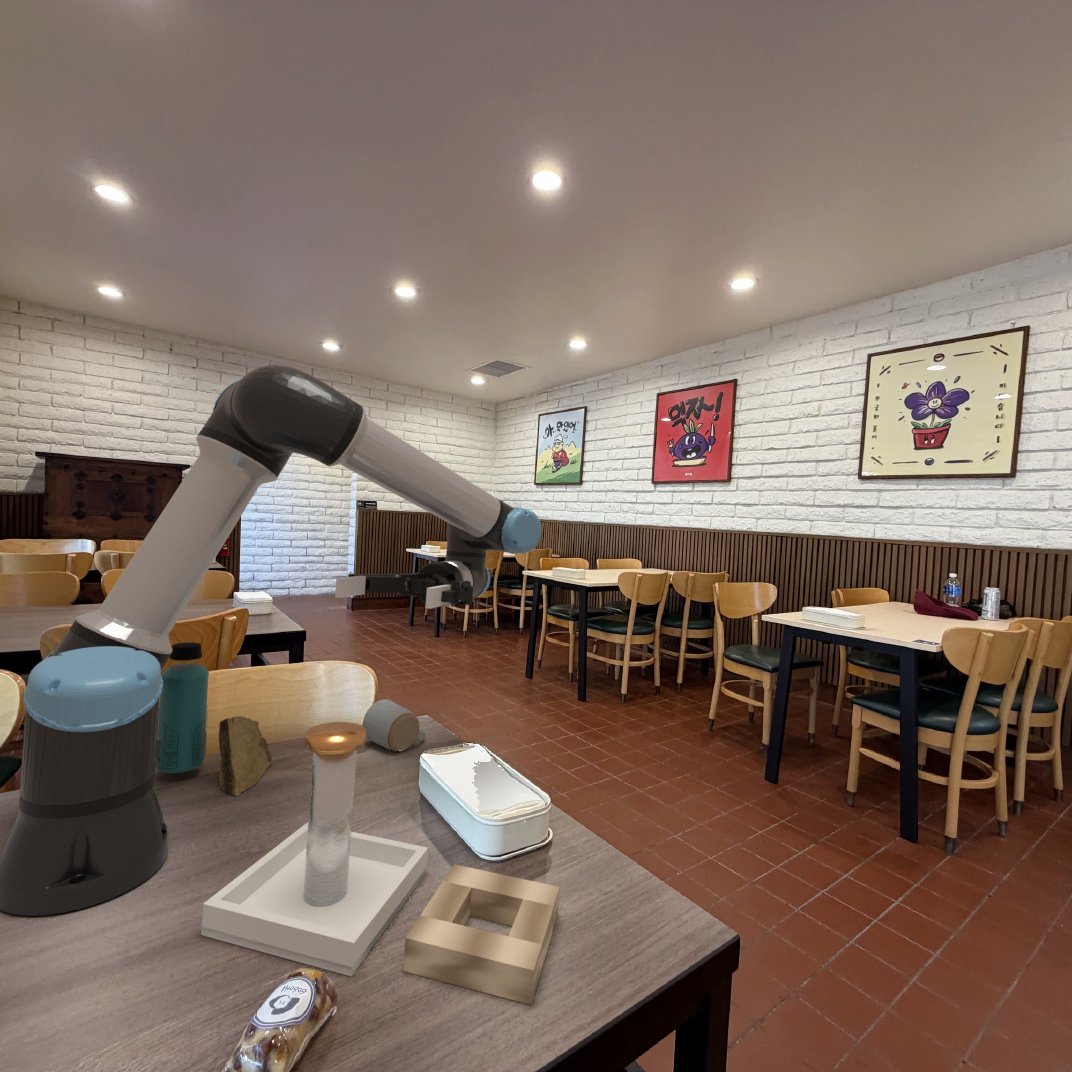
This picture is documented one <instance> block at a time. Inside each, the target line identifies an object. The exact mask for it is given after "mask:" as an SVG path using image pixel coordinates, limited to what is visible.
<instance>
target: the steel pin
mask: <svg viewBox="0 0 1072 1072" xmlns="http://www.w3.org/2000/svg"><path fill="white" fill-rule="evenodd" d="M366 739H367V738H366V729H365V728H364V727H363V725H362V724H358V723H354V722H348V721H347V722H346V721H335V722H334V721H333V722H332V721H331V722H325V723H321V724H317V725H314V726H312V727H310V728H309V729H308V730H306V732H305V742H304V743H305V744H304V746H305V749H307V750H308V751H310V752H311V753H312V761H311V774H310V775H311V779H310V791H309V792H310V793H309V805H308V807H309V808H308V821H307V822H308V833H307V848H306V863H305V878H304V893H303V899H304V901H305V902H306V903H307V904H308V905H311V906H315V907H326V906H330V905H333V904H336V903H338V902H339V901H341V900H342V899H343V898H344V897H345V896H346V894H347V889H348V875H349V860H350V845H351V832H352V828H353V827H352V826H353V812H354V799H355V780H356V769H357V755H358V754H357V753H358V750H359V749H361V748H362V747H364V745H366Z"/></svg>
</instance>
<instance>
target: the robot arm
mask: <svg viewBox="0 0 1072 1072" xmlns="http://www.w3.org/2000/svg"><path fill="white" fill-rule="evenodd" d="M365 409H366V408H365V407H364V406H362V405H361V404H360V403H358V402H356V401H354V400H353V399H351V398H350V397H348V396H347V395H346V394H344V393H341V392H340V391H339V390H337V389H335V388H333V387H332V386H330V385H329V384H327V383H325V381H323V380H321V379H318V378H317V377H315V376H313V375H312V374H309V373H308V372H305V371H303V370H300V369H298V368H295V367H292V366H288V365H283V364H282V365H281V364H269V365H263V366H260V367H257V368H255V369H253V370H251V371H249V372H247V374H245V375H244V376H243V377H241V378H240V379H239V380H237V381H234V382H233V383H231V384H230V385H228V386H227V387H225V388H224V390H222V391H221V392H220V394H219V396H218V397H217V398H216V400H215V402H214V406H213V408H212V413H211V414H210V416H209V418H208V419H207V421H206V422H205V424H204V425H203V427H201V429H200V431H199V432H198V434H197V435H196V437H195V440H196V443H197V445H198V449H199V454H198V455H199V456H197V458H196V459H195V461H194V463H193V464H192V466H191V468H189V470H188V472H187V473H186V475H185V476H184V478H183V479H182V481H181V482H180V484H179V485H178V487H177V489H176V490H175V492H174V493H173V494H172V496H171V498H170V500H169V501H168V503H166V506H165V507H164V509H163V510H162V512H160V513H161V514H160V515H159V516H158V518H157V519H156V521H155V522H154V523H153V526H152V527H151V529H150V531H148V533H147V535H146V536H145V537H144V539H143V540H142V542H141V544H140V545H139V547H138V549H137V550H136V552H135V553H134V554H133V556H132V557H131V560H130V561H129V562H128V564H127V565H126V567H125V569H124V570H123V571H122V573H121V575H120V576H119V578H118V579H117V580H116V582H115V584H113V587H112V588H111V590H110V591H109V593H108V594H107V596H106V597H105V599H104V600H103V602H102V603H101V605H100V606H99V608H97V609H96V610H94V611H90V612H87V613H84V614H80V615H78V616H77V617H76V618H75V620H74V621H73V623H72V624H71V626H70V627H69V628H68V630H67V631H66V633H65V635H64V636H63V638H62V639H61V641H60V642H59V644H58V645H57V647H56V648H55V649H53V650H52V651H51V652H50V653H49V655H47V656H46V657H45V658H43V660H41V661H39V662H38V664H36V665H35V666H34V667H33V669H31V671H30V673H29V675H28V679H27V684H26V686H25V689H24V692H23V705H24V707H25V709H24V726H23V743H22V756H21V757H22V759H21V771H20V772H21V773H20V774H21V775H20V787H19V788H20V790H19V804H18V805H19V806H18V813H17V817H16V820H15V822H14V824H13V826H12V829H11V830H10V833H9V835H8V838H7V839H6V842H5V845H4V847H3V849H2V853H1V855H0V911H2V912H4V913H8V914H10V915H11V914H12V915H18V916H31V917H32V916H33V917H34V916H47V915H48V916H49V915H55V914H57V915H58V914H62V913H67V912H73V911H77V910H80V909H85V908H89V907H91V906H95V905H97V904H100V903H103V902H106V901H109V900H111V899H113V898H116V897H118V896H121V895H122V894H124V893H127V892H129V891H130V890H133V889H134V888H136V887H137V886H139V885H140V884H143V883H144V882H145V881H147V880H148V879H149V878H150V877H152V876H153V875H154V874H155V873H156V872H157V871H159V870H160V868H161V867H162V866H163V865H164V863H165V862H166V859H167V857H168V854H169V838H170V837H169V829H168V826H167V824H166V823H165V819H164V816H163V812H162V809H161V806H160V803H159V800H158V798H157V794H156V792H155V791H156V790H155V774H156V751H157V738H158V735H157V734H158V719H159V706H160V695H161V692H162V689H163V680H162V676H161V674H162V670H163V668H164V666H165V665H166V664H167V661H168V660H169V659H170V655H171V653H172V651H173V650H172V644H171V641H170V636H169V634H170V632H171V631H172V630H173V628H174V626H175V625H176V623H177V621H178V620H179V618H180V616H181V615H182V613H183V612H184V610H185V609H186V607H187V605H188V604H189V602H190V600H191V598H192V597H193V595H194V594H195V592H196V590H197V589H198V587H199V585H200V584H201V582H202V581H203V579H204V577H205V575H206V574H207V572H208V570H210V567H211V566H212V564H213V562H215V559H216V557H217V556H218V554H219V552H220V551H221V550H222V547H223V546H224V545H225V543H226V541H227V540H228V538H229V536H230V535H231V533H232V532H233V530H234V529H235V526H236V525H237V523H238V522H239V520H240V518H241V517H242V515H243V513H244V512H245V510H246V508H247V507H248V505H249V503H250V502H251V500H252V499H253V497H254V496H255V495H256V493H257V490H258V489H259V487H261V486H262V485H264V484H268V483H269V484H270V483H272V482H273V483H274V482H276V481H277V480H278V478H279V476H280V474H281V472H283V469H284V467H285V466H286V464H287V463H288V462H289V459H290V458H291V456H292V455H293V454H297V455H298V454H299V455H302V456H305V457H307V458H311V459H313V460H315V461H317V462H320V463H321V464H323V465H325V466H327V467H328V468H329V467H334V466H338V465H340V466H342V467H344V468H346V469H348V470H350V471H351V472H353V473H355V474H357V475H358V476H361V477H363V478H364V479H366V480H368V481H370V482H372V483H373V484H376V485H378V486H379V487H381V488H383V489H384V490H387V491H389V492H391V493H392V494H394V495H395V496H398V497H400V498H401V499H404V500H405V501H407V502H409V503H411V504H413V505H415V506H416V507H418V508H420V509H422V510H425V512H427V513H430V514H432V515H433V516H434V517H435V516H436V517H437V518H439V519H441V520H443V521H445V522H446V523H447V537H446V538H447V540H446V552H445V560H444V561H434V562H429V563H427V564H425V565H423V566H422V567H421V568H420V569H419V571H418V572H414V573H388V574H381V573H380V574H376V573H374V574H371V573H370V574H368V573H366V574H364V573H361V574H359V573H357V574H355V573H348V574H347V576H346V577H345V576H344V577H336V581H335V592H334V593H335V594H334V598H335V599H336V598H337V599H341V598H349V597H354V598H361V596H362V595H363V596H364V595H365V593H369V594H370V593H378V594H379V593H381V594H382V593H386V594H387V593H388V594H389V593H391V594H394V593H395V594H397V595H399V596H402V597H414V598H419V600H420V601H421V602H422V603H423V604H424V605H425V609H429V610H430V609H435V608H440V607H447V608H449V607H450V608H451V607H452V604H453V605H457V604H460V602H462V604H464V605H465V606H471V605H473V600H474V599H476V598H477V597H480V596H481V595H483V594H484V593H485V592H486V591H487V590H488V588H489V586H490V583H491V574H490V573H491V572H490V571H489V568H488V567H487V565H486V559H487V551H493V552H500V553H501V552H502V553H507V554H511V555H516V554H527V553H530V552H531V551H534V549H536V547H537V546H538V545H539V542H540V540H541V538H542V523H541V520H540V518H539V516H538V515H537V514H536V513H535V512H534V511H531V510H530V509H525V508H523V507H512V506H510V505H509V504H507V503H506V502H504V501H503V500H501V499H499V498H498V497H495V495H494V496H493V495H492V494H491V493H489V492H487V491H485V489H482V488H480V486H477V485H476V484H475V483H473V482H471V481H470V480H468V479H466V478H465V477H463V476H461V475H460V474H458V473H456V472H455V471H454V470H451V469H450V468H448V467H447V466H446V465H444V464H442V463H440V462H439V461H437V460H436V459H434V458H432V457H431V456H429V455H427V454H426V453H424V452H422V451H421V450H420V449H418V448H416V447H415V446H413V445H411V444H410V443H408V442H406V441H405V440H403V439H402V438H400V437H399V436H397V435H396V434H394V433H392V432H390V431H389V430H387V429H385V428H384V427H382V426H380V424H378V423H376V422H375V421H373V420H371V419H369V418H368V417H367V414H366V410H365ZM405 590H406V591H405Z"/></svg>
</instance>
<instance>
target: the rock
mask: <svg viewBox="0 0 1072 1072" xmlns="http://www.w3.org/2000/svg"><path fill="white" fill-rule="evenodd" d="M262 735H263V734H262V732H261V730H260V728H259V721H256V720H253V719H250V718H247V717H245V716H241V715H240V716H239V715H238V716H233V717H227V718H225V719H222V720H221V721H220V722H219V729H218V745H219V752H220V753H219V754H220V764H219V775H218V777H219V788H221V790H222V791H224V792H225V793H226V794H228V795H231V796H233V797H239V796H240V795H241V794H242V793H243V792H245V791H247V790H248V789H250V788H252V787H253V786H256V784H257V783H259V781H260V780H261V778H262V777H263V775H264V774H265V772H266V770H267V769H268V768H269V767H271V765H273V763H274V759H273V757H272V753H271V751H270V749H269V744H268V742H267V741H268V740H266V738H265V737H263V736H262Z"/></svg>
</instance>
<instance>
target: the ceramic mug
mask: <svg viewBox="0 0 1072 1072" xmlns="http://www.w3.org/2000/svg"><path fill="white" fill-rule="evenodd" d="M362 726H363V727H364V728H365V729H366V738H365V739H367V740H369V741H371V742H373V743H374V744H376V745H378V746H381V747H383V748H384V749H386V750H389V751H391V750H392V752H396V751H399V750H403V749H406V748H408V747H409V748H411V747H412V746H413V744H414V743H415V742H416V741H419V742H421V741H420V740H422V739H423V738H424V739H425V737H426V732H425V731H423V730H421V729H420V720H419V718H418V717H417V715H415V714H414V713H413V712H412V711H411V710H409V709H407V708H405V707H403V706H401V705H399V704H398V703H396V702H395V701H392V700H390V699H387V698H386V699H380V700H377V701H376V702H374V703H373V704H372V705H371V706H369V708H368V709H367V711H366V712H365V714H364V717H363V721H362ZM424 739H423V740H424ZM409 748H408V749H409ZM406 750H407V749H406Z"/></svg>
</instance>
